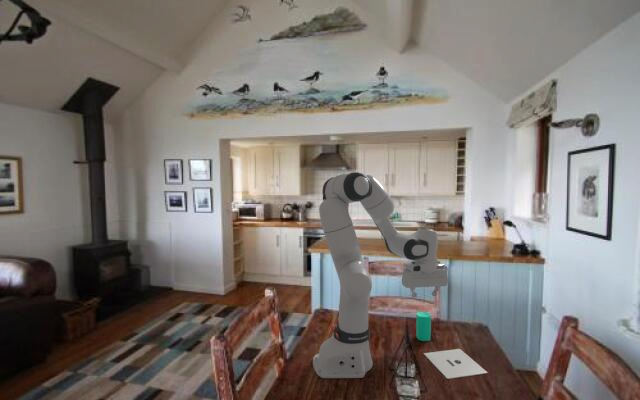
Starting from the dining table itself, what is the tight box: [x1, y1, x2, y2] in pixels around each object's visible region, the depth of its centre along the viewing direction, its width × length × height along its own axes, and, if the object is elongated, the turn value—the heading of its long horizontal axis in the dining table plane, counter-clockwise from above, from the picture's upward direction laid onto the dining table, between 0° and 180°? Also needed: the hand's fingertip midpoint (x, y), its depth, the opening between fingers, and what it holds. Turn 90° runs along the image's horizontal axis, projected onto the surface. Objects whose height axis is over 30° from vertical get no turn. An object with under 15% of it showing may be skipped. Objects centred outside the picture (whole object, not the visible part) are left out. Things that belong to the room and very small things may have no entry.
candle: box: [415, 311, 432, 342], centre depth 137 cm, size 6×6×12 cm
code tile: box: [423, 348, 489, 380], centre depth 119 cm, size 16×16×1 cm
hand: (424, 296), depth 137 cm, fingers open, 8 cm apart
